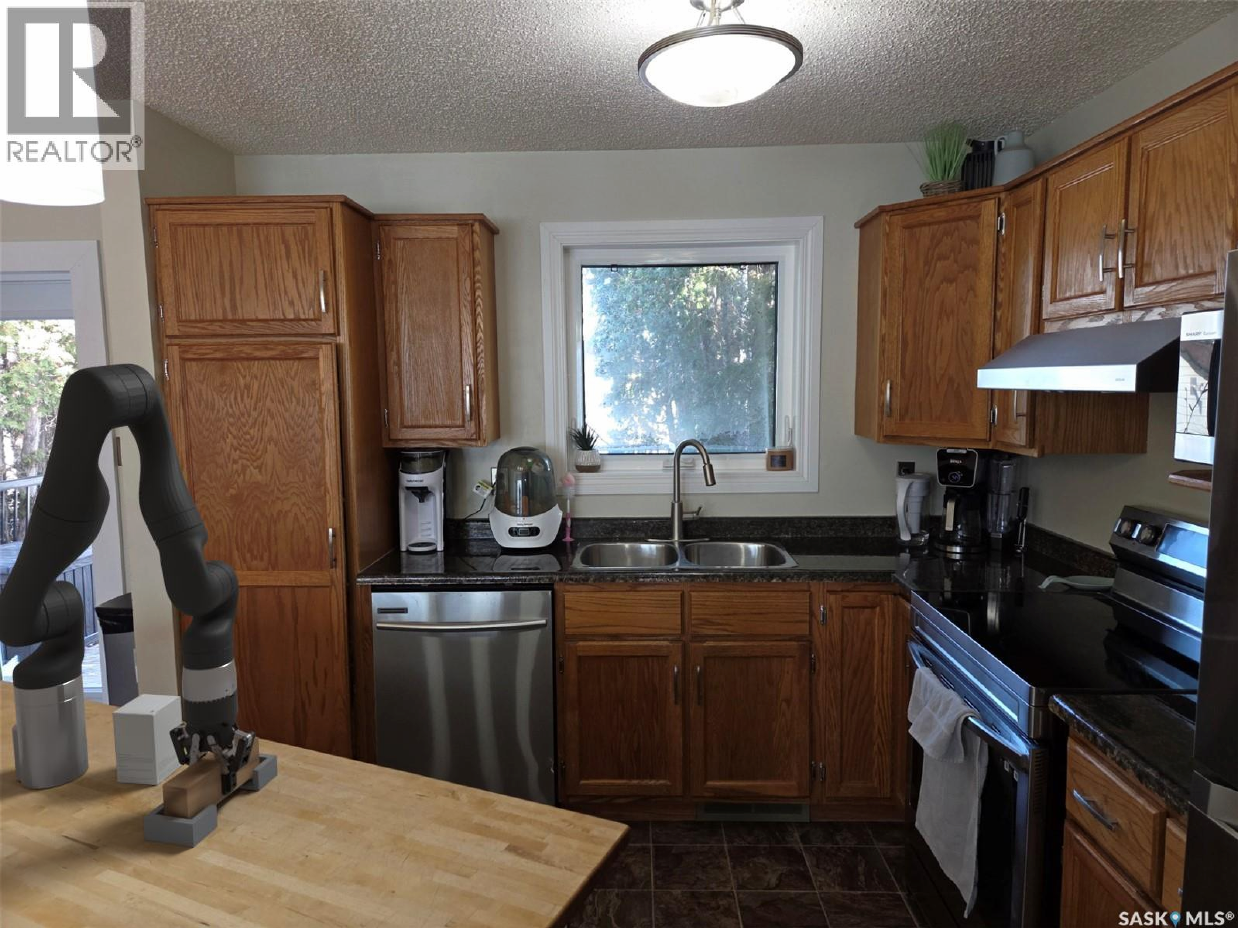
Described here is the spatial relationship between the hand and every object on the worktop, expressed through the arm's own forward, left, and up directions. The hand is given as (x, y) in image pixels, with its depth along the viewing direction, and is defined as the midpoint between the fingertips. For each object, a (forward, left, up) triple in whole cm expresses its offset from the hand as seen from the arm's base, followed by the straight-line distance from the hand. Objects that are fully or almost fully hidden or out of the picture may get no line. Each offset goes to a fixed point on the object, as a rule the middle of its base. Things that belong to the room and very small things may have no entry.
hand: (215, 790), depth 120 cm
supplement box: (-17, +6, -3) cm, 18 cm away
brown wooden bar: (0, 0, -1) cm, 1 cm away
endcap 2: (0, +8, -3) cm, 8 cm away
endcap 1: (0, -7, -3) cm, 8 cm away
